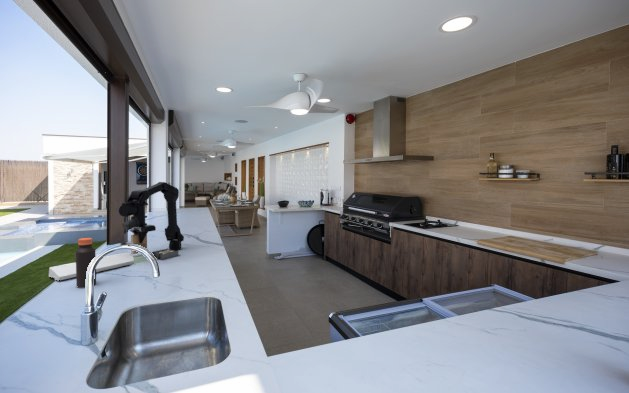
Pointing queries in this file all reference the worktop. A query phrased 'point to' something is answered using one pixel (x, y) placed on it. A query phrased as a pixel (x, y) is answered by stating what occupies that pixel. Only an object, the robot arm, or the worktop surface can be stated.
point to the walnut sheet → (136, 241)
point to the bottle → (84, 260)
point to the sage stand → (139, 259)
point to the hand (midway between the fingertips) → (139, 243)
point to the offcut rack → (165, 256)
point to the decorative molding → (105, 264)
